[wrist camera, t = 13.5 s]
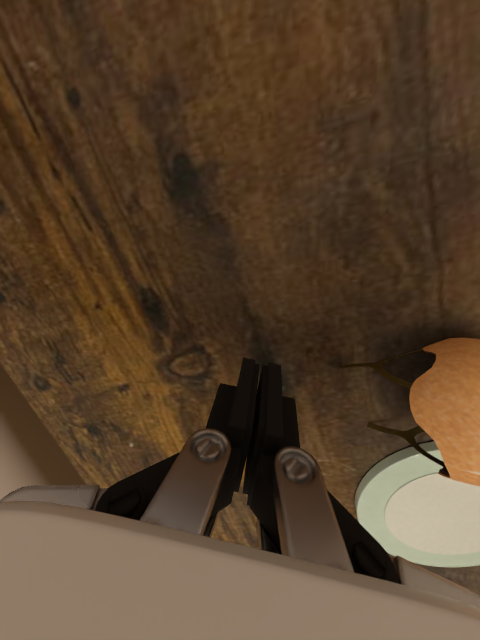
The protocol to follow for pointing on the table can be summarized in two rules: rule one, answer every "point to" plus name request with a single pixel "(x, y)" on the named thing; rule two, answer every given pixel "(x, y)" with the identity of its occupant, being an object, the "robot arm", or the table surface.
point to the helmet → (445, 406)
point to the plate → (420, 510)
